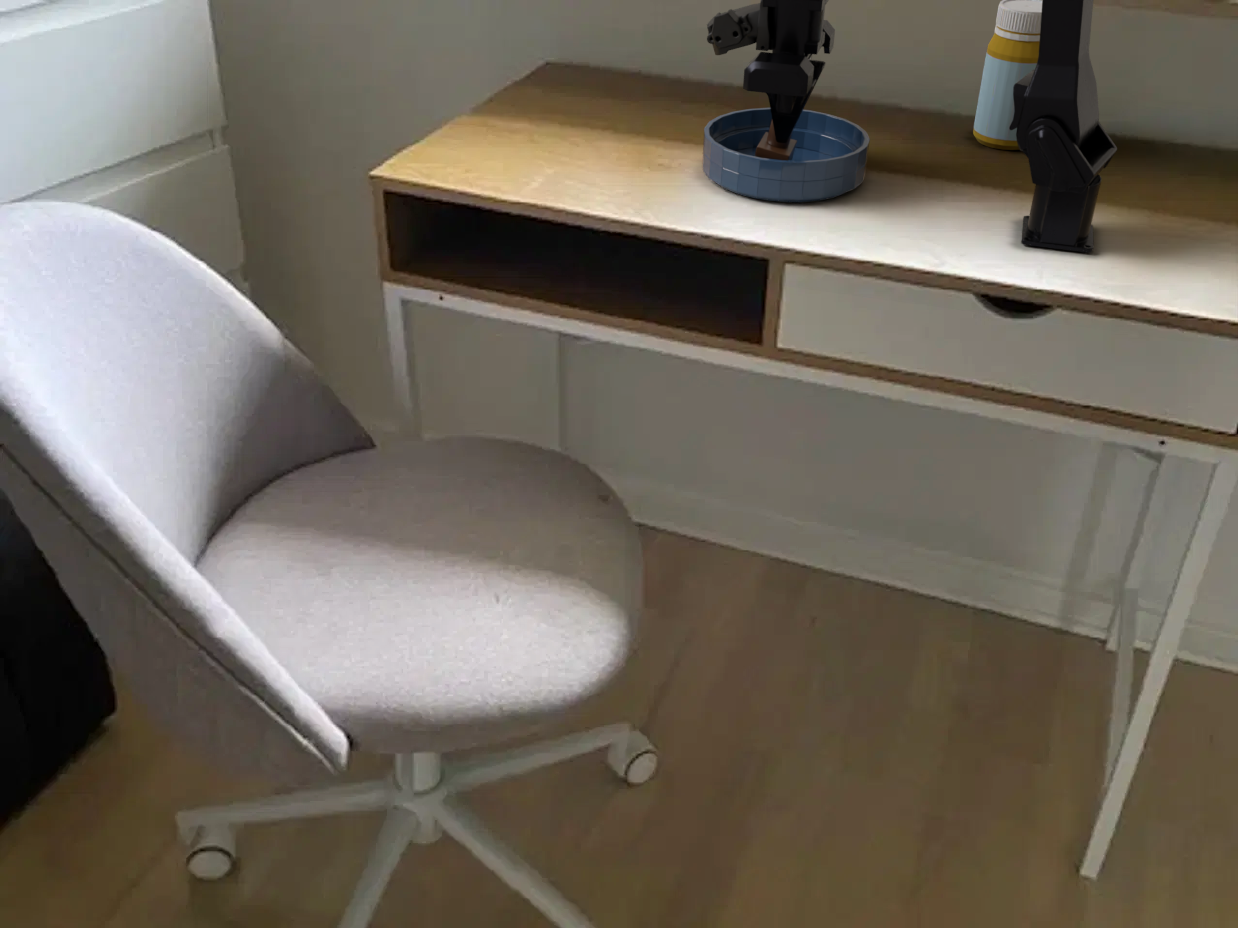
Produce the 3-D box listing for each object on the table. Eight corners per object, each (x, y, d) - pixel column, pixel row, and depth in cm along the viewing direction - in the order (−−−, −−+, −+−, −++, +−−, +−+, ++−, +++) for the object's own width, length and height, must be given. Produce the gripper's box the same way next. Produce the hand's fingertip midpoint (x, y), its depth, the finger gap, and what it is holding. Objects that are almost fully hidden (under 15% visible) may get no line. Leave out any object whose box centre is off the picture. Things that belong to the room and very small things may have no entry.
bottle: (1029, 132, 150) (1055, -2, 142) (1039, 153, 144) (1067, 15, 136) (968, 129, 151) (991, -4, 143) (976, 150, 145) (1000, 12, 137)
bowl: (852, 214, 128) (857, 170, 126) (685, 193, 132) (687, 151, 130) (873, 158, 142) (878, 117, 140) (721, 140, 146) (723, 101, 144)
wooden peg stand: (783, 178, 135) (807, 90, 129) (751, 169, 135) (774, 81, 130) (791, 162, 139) (815, 76, 133) (760, 153, 139) (782, 67, 134)
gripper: (736, -44, 136) (726, 103, 144) (695, -4, 121) (687, 158, 129) (842, -35, 133) (826, 114, 142) (814, 7, 118) (798, 171, 127)
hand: (783, 138), depth 135 cm, fingers closed on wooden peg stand, 2 cm apart
